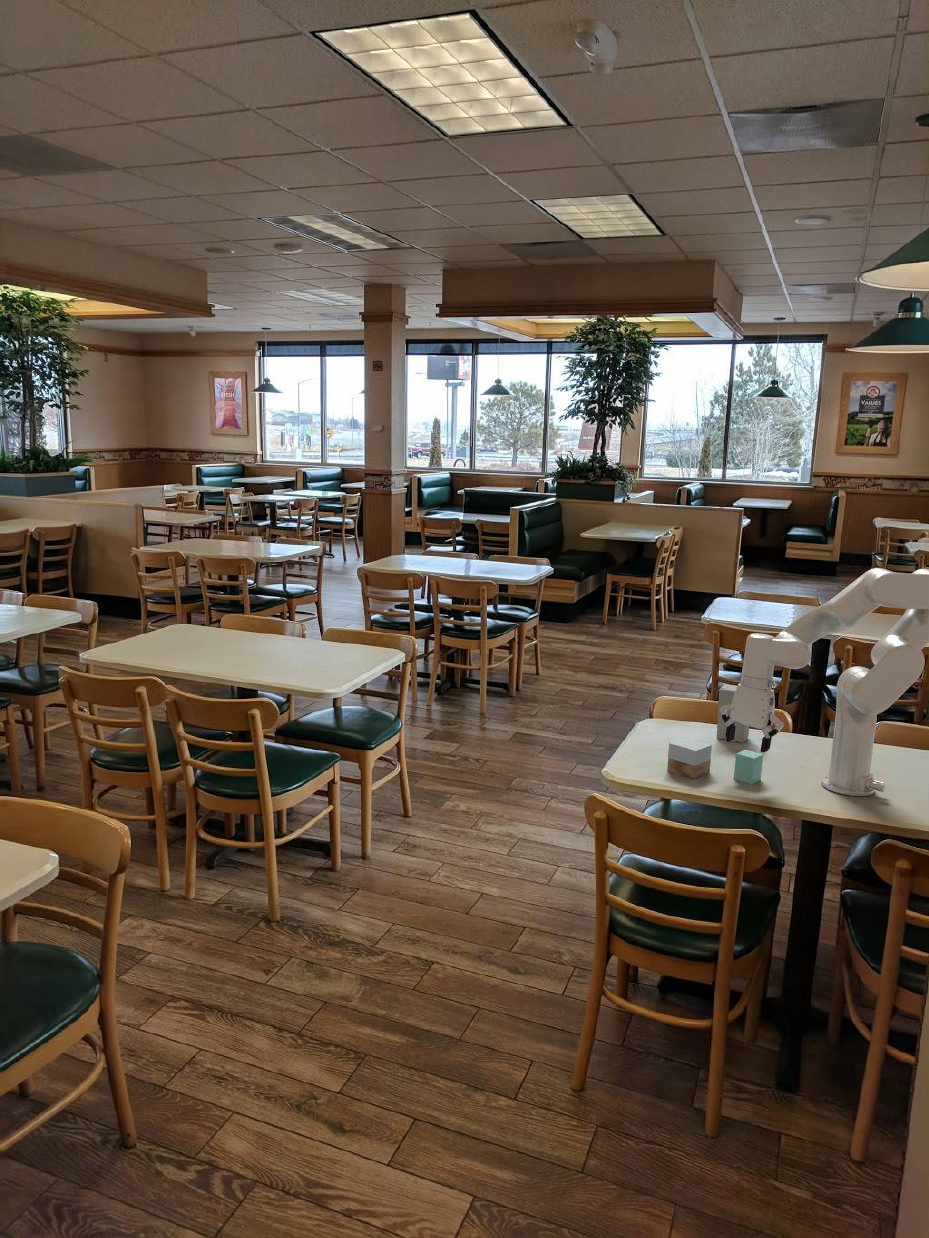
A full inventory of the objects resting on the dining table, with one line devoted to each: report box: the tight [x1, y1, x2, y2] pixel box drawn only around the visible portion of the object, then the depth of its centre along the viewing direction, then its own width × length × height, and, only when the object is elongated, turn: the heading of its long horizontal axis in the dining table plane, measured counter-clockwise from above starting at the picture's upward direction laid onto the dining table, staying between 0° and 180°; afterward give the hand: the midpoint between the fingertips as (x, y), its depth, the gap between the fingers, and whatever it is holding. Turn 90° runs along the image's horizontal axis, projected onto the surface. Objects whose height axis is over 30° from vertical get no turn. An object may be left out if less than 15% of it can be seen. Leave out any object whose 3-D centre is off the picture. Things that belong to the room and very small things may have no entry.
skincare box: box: [716, 684, 750, 744], centre depth 265 cm, size 8×7×16 cm
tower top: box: [667, 736, 713, 766], centre depth 235 cm, size 8×8×4 cm
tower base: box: [666, 757, 712, 780], centre depth 236 cm, size 8×8×4 cm
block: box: [733, 749, 764, 785], centre depth 231 cm, size 5×5×7 cm
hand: (746, 746), depth 230 cm, fingers open, 9 cm apart
